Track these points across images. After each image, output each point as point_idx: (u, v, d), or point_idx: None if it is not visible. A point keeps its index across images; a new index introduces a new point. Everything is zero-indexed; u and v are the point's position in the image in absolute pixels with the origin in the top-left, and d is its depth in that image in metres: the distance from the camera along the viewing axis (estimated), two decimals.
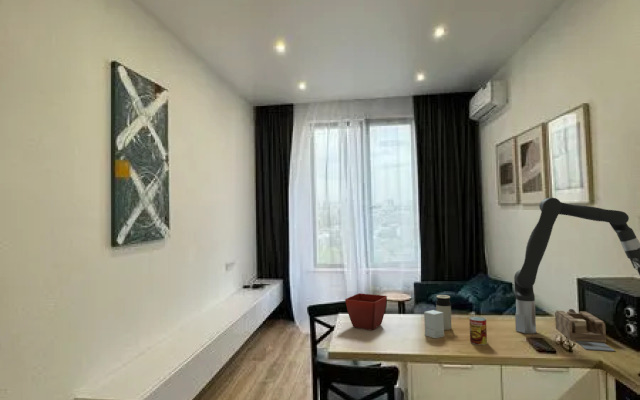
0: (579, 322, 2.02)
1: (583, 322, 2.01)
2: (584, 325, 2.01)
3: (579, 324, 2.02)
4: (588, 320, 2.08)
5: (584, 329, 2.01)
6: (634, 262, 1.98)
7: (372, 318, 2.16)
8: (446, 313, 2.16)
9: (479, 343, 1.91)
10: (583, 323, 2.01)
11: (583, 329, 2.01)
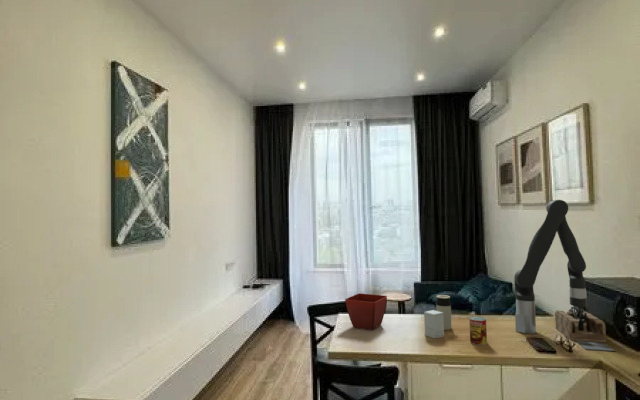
0: None
1: None
2: (584, 325, 2.01)
3: None
4: (588, 320, 2.08)
5: (584, 329, 2.01)
6: (574, 309, 2.05)
7: (372, 318, 2.16)
8: (446, 313, 2.16)
9: (479, 343, 1.91)
10: None
11: None
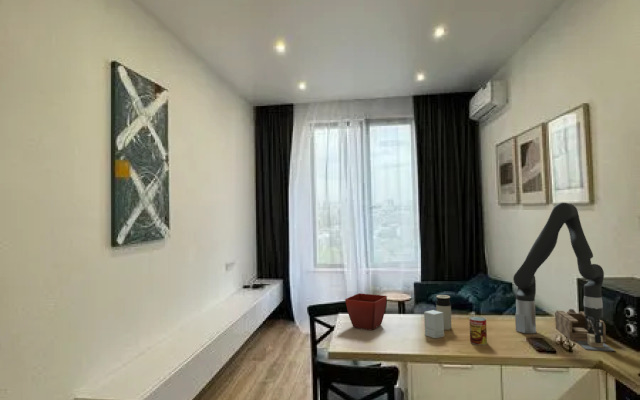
0: None
1: None
2: (601, 341, 1.83)
3: None
4: None
5: (601, 346, 1.83)
6: (588, 320, 1.87)
7: (372, 318, 2.16)
8: (446, 313, 2.16)
9: (479, 343, 1.91)
10: None
11: (599, 346, 1.83)
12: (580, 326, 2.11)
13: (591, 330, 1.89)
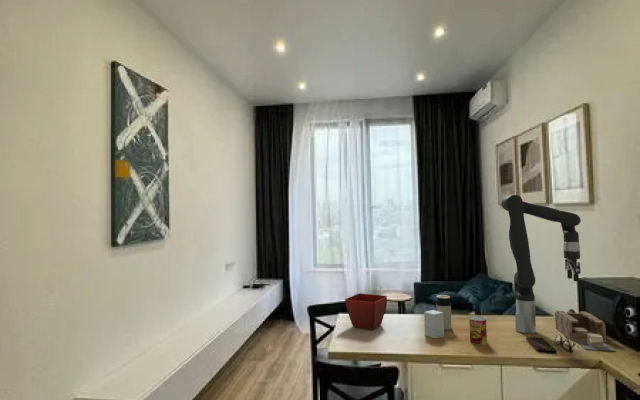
0: (595, 338, 1.84)
1: (599, 338, 1.84)
2: (601, 341, 1.83)
3: (595, 340, 1.84)
4: (588, 320, 2.08)
5: (601, 346, 1.83)
6: (567, 263, 2.11)
7: (372, 318, 2.16)
8: (446, 313, 2.16)
9: (479, 343, 1.91)
10: (599, 339, 1.84)
11: (599, 346, 1.83)
12: (580, 326, 2.11)
13: (570, 271, 2.13)
